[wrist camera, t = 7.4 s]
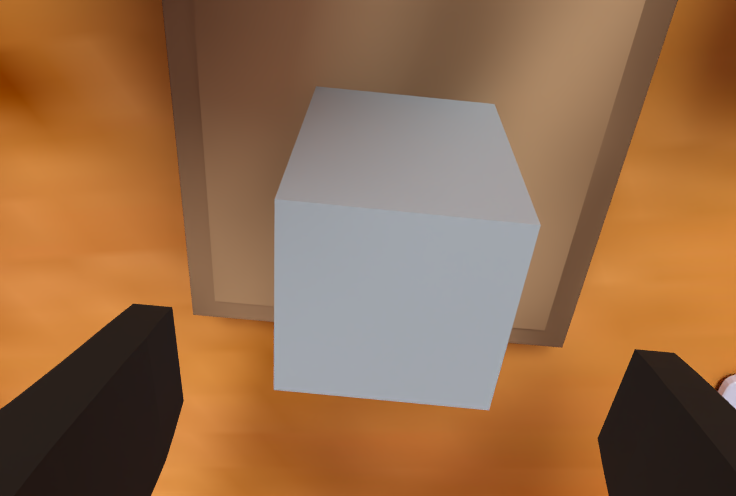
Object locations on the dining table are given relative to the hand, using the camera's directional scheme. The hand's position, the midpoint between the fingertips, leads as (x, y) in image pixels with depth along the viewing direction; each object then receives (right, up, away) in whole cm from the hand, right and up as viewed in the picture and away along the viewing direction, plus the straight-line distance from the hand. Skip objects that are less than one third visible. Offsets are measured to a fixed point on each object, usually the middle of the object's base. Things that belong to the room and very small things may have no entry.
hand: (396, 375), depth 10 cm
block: (0, +4, +7) cm, 8 cm away
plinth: (0, +5, +8) cm, 10 cm away
